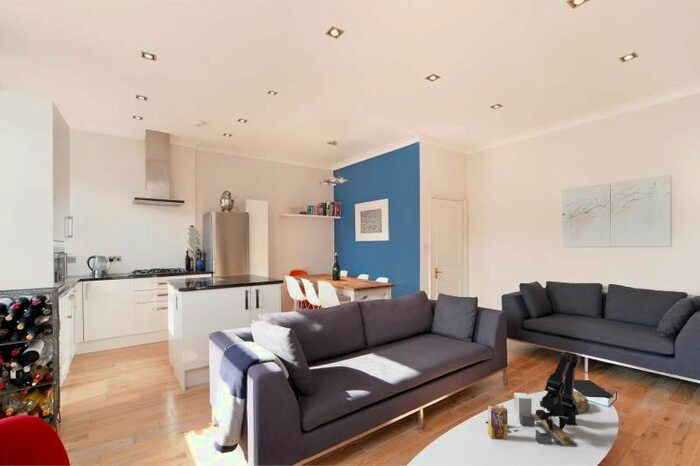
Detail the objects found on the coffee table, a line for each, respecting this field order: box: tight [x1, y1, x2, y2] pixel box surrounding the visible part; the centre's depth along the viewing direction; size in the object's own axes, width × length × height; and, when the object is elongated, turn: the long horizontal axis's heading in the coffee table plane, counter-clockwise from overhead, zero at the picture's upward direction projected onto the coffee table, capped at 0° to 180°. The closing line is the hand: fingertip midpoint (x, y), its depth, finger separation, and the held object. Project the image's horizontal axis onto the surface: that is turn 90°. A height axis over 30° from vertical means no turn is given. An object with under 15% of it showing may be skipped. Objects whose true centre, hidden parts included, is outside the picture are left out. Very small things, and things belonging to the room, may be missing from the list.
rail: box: [541, 419, 572, 445], centre depth 178 cm, size 4×20×4 cm, turn 0°
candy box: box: [487, 405, 509, 440], centre depth 174 cm, size 9×4×15 cm, turn 89°
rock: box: [573, 390, 591, 415], centre depth 207 cm, size 21×14×10 cm
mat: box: [535, 421, 578, 448], centre depth 178 cm, size 9×22×1 cm, turn 179°
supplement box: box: [513, 392, 533, 420], centre depth 195 cm, size 7×7×13 cm
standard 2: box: [535, 429, 553, 445], centre depth 170 cm, size 7×3×6 cm, turn 89°
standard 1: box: [519, 414, 536, 428], centre depth 186 cm, size 7×3×6 cm, turn 89°
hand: (555, 430), depth 178 cm, fingers open, 5 cm apart
